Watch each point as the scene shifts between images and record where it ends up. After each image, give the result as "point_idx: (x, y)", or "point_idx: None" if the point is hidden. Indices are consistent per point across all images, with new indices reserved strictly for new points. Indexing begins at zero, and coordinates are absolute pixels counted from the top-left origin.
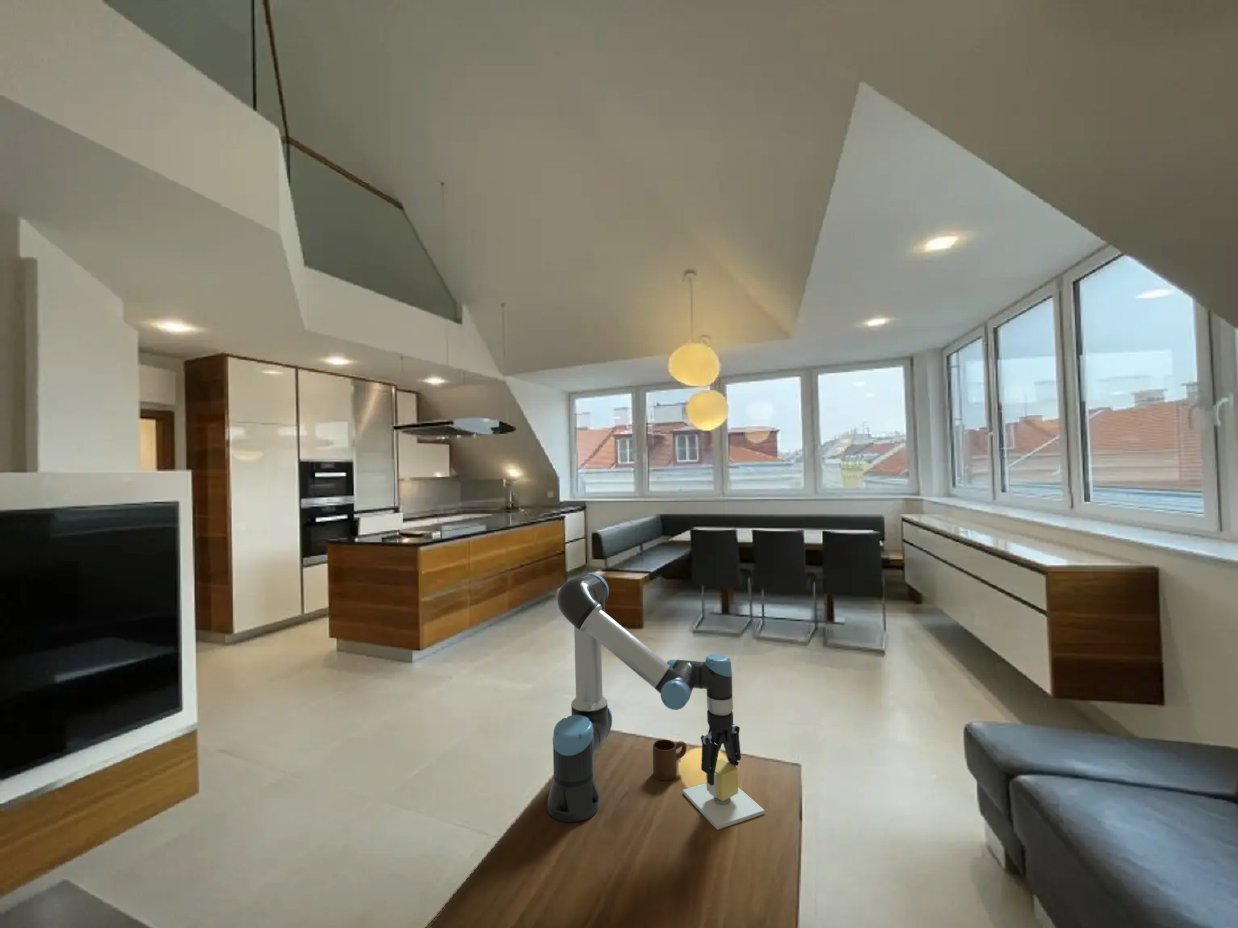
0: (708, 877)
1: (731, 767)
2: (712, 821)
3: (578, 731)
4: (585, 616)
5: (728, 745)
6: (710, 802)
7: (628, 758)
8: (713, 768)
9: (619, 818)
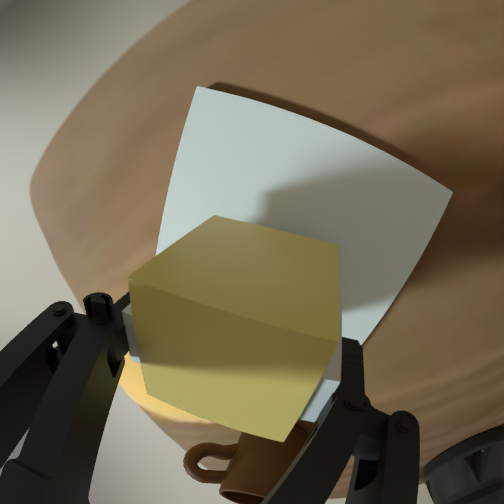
0: None
1: (159, 321)
2: (437, 223)
3: None
4: None
5: (57, 476)
6: None
7: None
8: (349, 428)
9: (488, 407)
